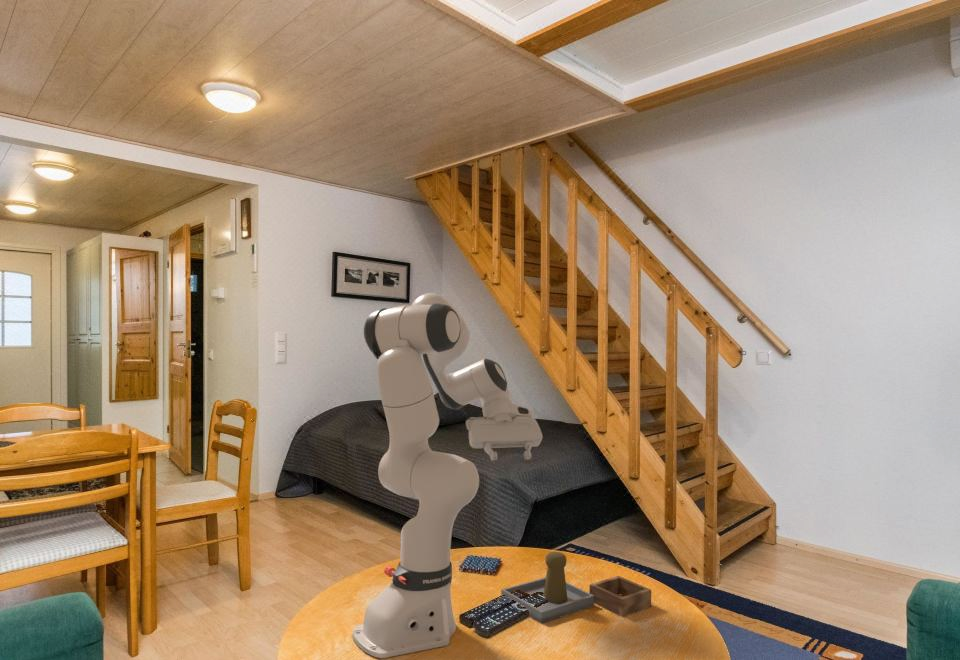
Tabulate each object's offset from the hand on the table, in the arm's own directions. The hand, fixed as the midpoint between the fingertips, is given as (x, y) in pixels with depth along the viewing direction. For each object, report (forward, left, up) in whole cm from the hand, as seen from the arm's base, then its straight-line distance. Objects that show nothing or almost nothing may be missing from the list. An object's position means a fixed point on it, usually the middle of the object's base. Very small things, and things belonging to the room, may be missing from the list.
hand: (511, 458), depth 154 cm
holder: (+17, -22, -33) cm, 44 cm away
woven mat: (+2, +16, -34) cm, 38 cm away
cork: (+4, -13, -33) cm, 35 cm away
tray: (+2, -12, -33) cm, 36 cm away
